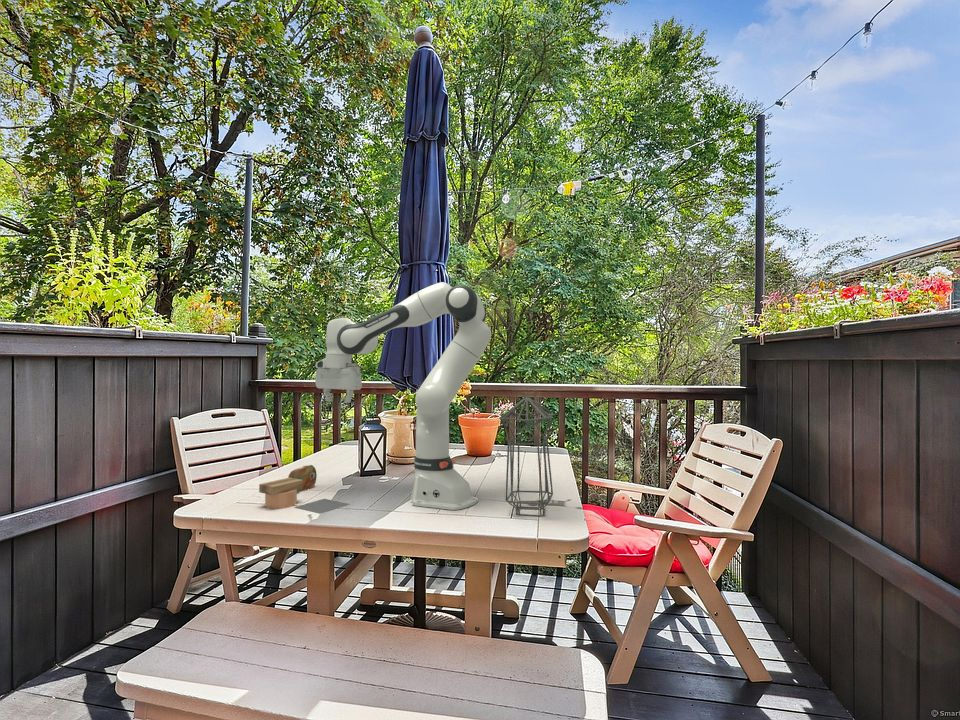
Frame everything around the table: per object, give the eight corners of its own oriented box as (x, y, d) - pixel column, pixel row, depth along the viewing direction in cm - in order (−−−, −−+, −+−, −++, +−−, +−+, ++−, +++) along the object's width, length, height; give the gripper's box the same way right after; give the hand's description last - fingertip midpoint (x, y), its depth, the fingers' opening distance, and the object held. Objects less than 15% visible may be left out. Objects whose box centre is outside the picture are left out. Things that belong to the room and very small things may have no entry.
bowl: (302, 504, 157) (302, 488, 157) (277, 511, 150) (277, 495, 150) (284, 500, 162) (284, 485, 162) (259, 507, 154) (259, 491, 154)
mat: (350, 505, 156) (350, 504, 156) (320, 515, 146) (320, 513, 146) (324, 500, 163) (324, 498, 163) (293, 509, 153) (293, 507, 153)
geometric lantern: (553, 522, 142) (551, 399, 142) (499, 519, 145) (496, 399, 145) (557, 506, 157) (555, 395, 157) (508, 503, 160) (505, 395, 160)
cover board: (302, 487, 159) (302, 479, 159) (272, 495, 149) (272, 487, 149) (289, 485, 162) (289, 477, 162) (259, 492, 153) (259, 484, 153)
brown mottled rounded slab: (294, 496, 167) (294, 471, 167) (285, 496, 168) (285, 471, 168) (317, 486, 182) (317, 463, 182) (309, 485, 182) (309, 462, 182)
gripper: (366, 363, 174) (365, 402, 174) (326, 363, 185) (325, 400, 185) (352, 363, 169) (352, 403, 169) (312, 363, 180) (312, 401, 180)
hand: (338, 402), depth 177 cm, fingers open, 8 cm apart
